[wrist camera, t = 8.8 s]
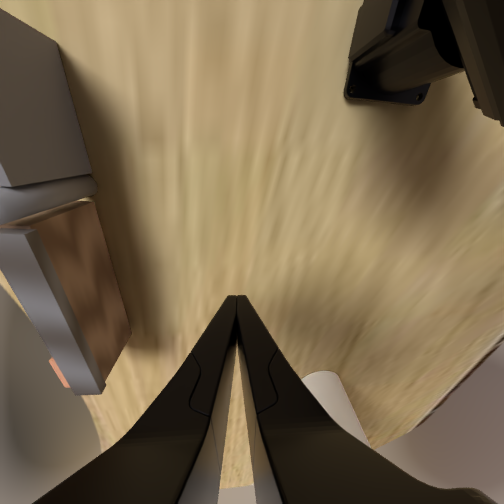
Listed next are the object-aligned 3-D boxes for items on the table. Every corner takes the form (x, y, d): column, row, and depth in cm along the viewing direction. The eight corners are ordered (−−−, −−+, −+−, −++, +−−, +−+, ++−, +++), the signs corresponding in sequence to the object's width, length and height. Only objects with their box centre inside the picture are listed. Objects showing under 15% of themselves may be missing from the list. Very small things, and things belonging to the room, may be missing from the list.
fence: (57, 42, 13) (-133, -74, 6) (137, 332, 25) (102, 399, 19) (-12, 33, 13) (-297, -101, 6) (103, 333, 25) (55, 401, 18)
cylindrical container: (330, 395, 36) (481, 784, 14) (292, 394, 35) (393, 816, 13) (345, 371, 33) (572, 824, 11) (305, 369, 32) (467, 871, 10)
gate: (69, 200, 17) (-24, 229, 11) (97, 201, 17) (22, 231, 11) (115, 333, 24) (75, 395, 18) (134, 333, 24) (101, 394, 18)
